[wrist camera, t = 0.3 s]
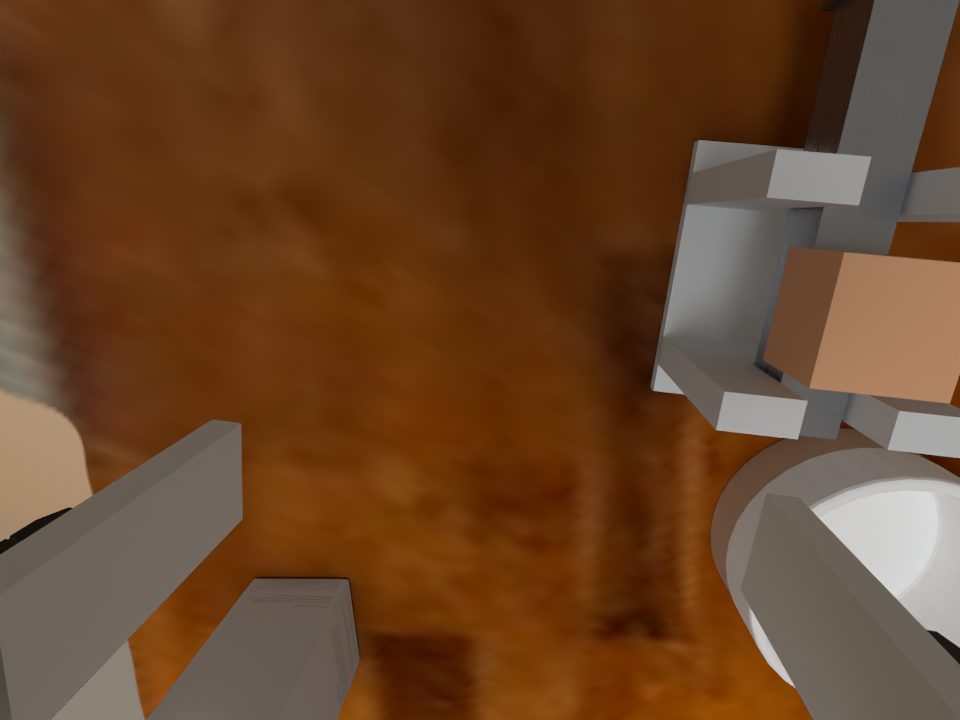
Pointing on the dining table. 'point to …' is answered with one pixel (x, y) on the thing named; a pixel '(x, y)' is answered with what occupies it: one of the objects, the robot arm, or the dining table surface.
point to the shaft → (864, 144)
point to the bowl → (853, 521)
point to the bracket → (748, 284)
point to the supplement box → (272, 657)
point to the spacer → (868, 324)
